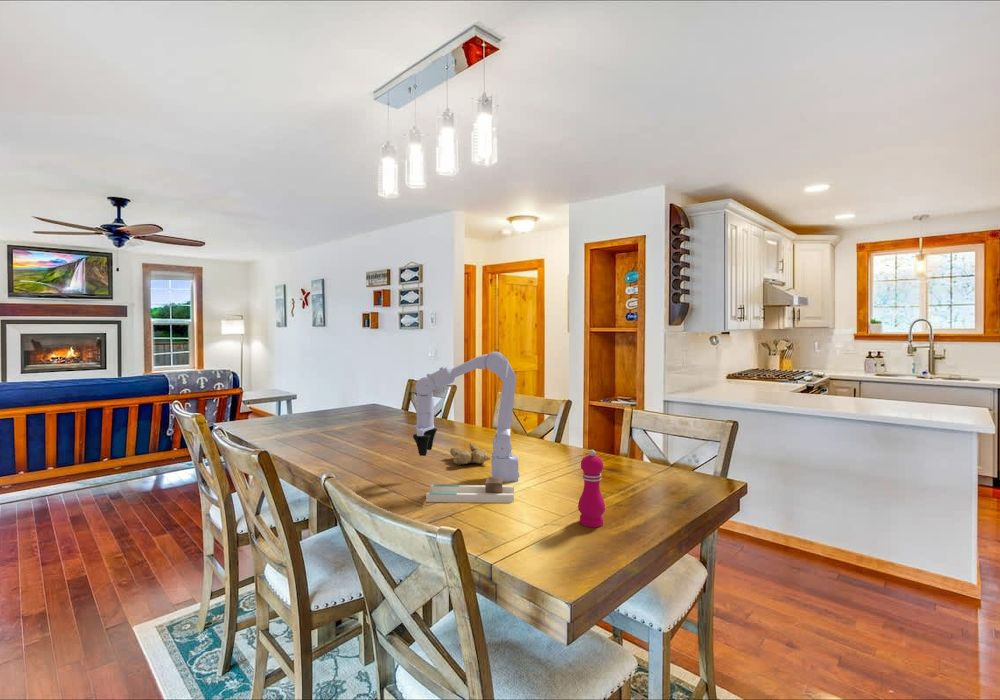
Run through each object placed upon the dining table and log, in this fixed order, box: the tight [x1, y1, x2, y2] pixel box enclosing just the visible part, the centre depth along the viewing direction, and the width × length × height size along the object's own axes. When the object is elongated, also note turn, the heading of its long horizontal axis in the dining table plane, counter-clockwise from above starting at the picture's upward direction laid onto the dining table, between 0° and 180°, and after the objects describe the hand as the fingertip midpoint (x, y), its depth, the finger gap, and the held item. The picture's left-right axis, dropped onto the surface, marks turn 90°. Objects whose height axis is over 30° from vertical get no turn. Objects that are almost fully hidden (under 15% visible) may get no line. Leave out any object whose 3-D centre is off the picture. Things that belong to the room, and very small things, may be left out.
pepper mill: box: [577, 449, 606, 528], centre depth 135 cm, size 7×7×20 cm
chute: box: [425, 483, 515, 504], centre depth 154 cm, size 26×10×3 cm, turn 88°
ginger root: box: [449, 442, 492, 466], centre depth 194 cm, size 16×16×8 cm
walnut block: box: [484, 477, 503, 493], centre depth 154 cm, size 5×5×5 cm
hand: (425, 452), depth 171 cm, fingers open, 7 cm apart
